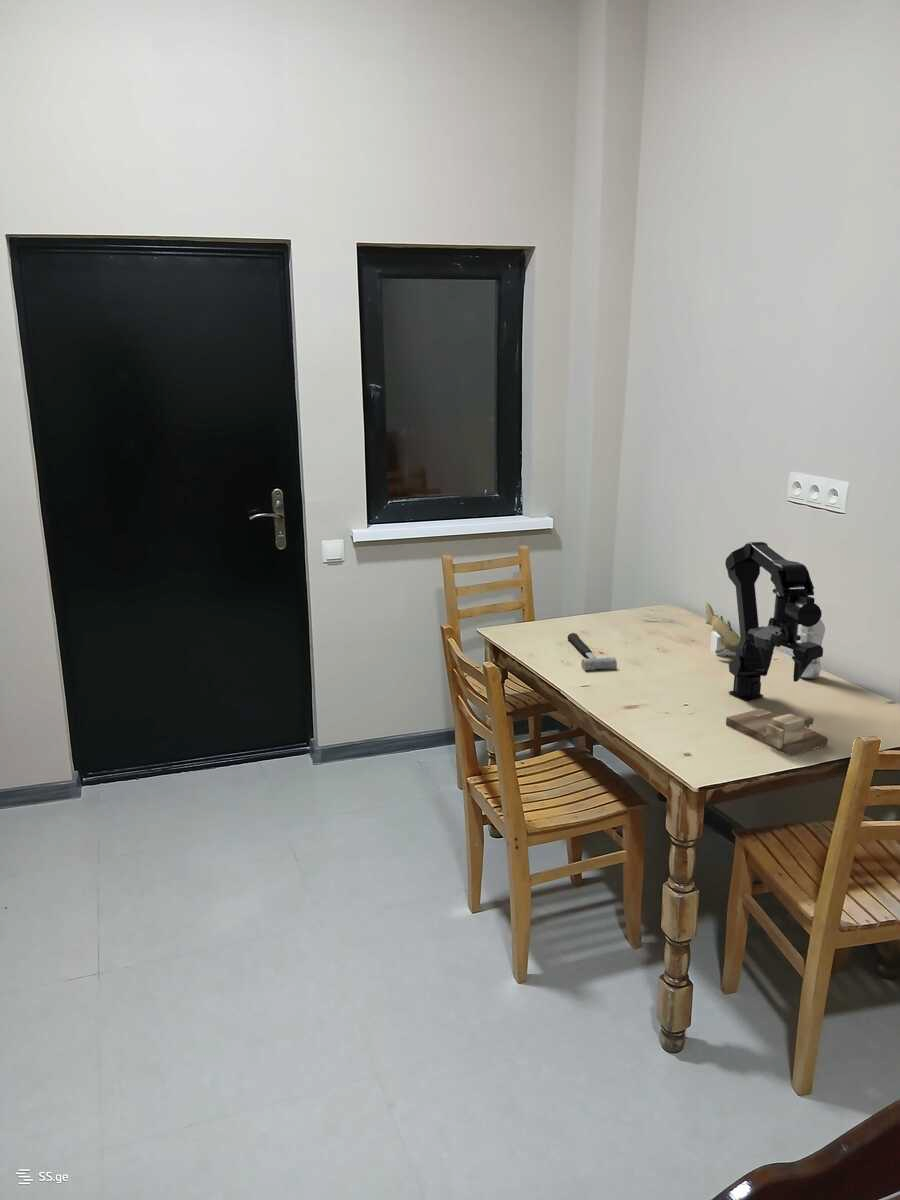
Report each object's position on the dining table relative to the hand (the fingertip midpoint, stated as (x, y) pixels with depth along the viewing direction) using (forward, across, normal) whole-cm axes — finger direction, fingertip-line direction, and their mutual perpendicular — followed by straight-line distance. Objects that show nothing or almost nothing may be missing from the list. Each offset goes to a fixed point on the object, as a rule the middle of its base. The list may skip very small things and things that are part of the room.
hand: (780, 675), depth 206 cm
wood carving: (+12, -48, +28) cm, 57 cm away
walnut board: (+12, +6, -7) cm, 15 cm away
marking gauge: (+11, +12, -8) cm, 18 cm away
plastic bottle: (+12, -18, +32) cm, 39 cm away
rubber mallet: (+13, -65, -11) cm, 67 cm away
